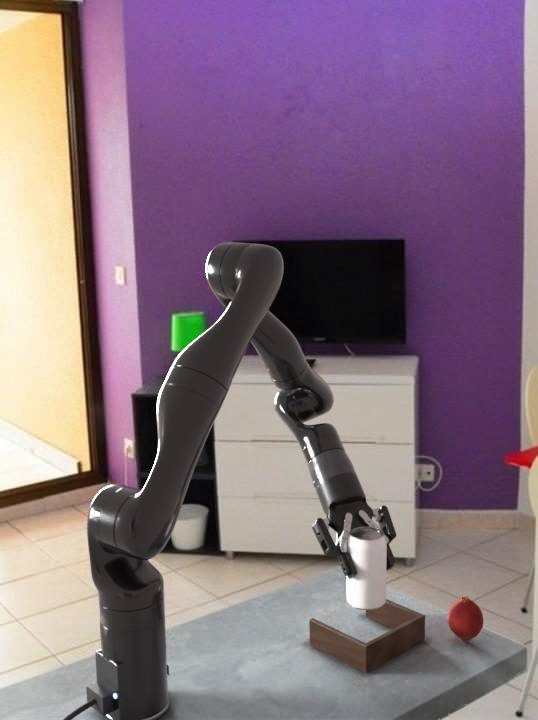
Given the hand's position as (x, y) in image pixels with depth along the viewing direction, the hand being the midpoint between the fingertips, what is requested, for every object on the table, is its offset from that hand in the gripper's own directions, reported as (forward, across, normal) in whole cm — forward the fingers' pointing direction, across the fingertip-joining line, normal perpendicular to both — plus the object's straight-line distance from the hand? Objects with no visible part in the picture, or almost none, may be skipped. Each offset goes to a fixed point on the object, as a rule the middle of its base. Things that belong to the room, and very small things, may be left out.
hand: (372, 572), depth 147 cm
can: (+3, 0, +5) cm, 6 cm away
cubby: (+8, 0, +10) cm, 13 cm away
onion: (+13, +15, +5) cm, 21 cm away
